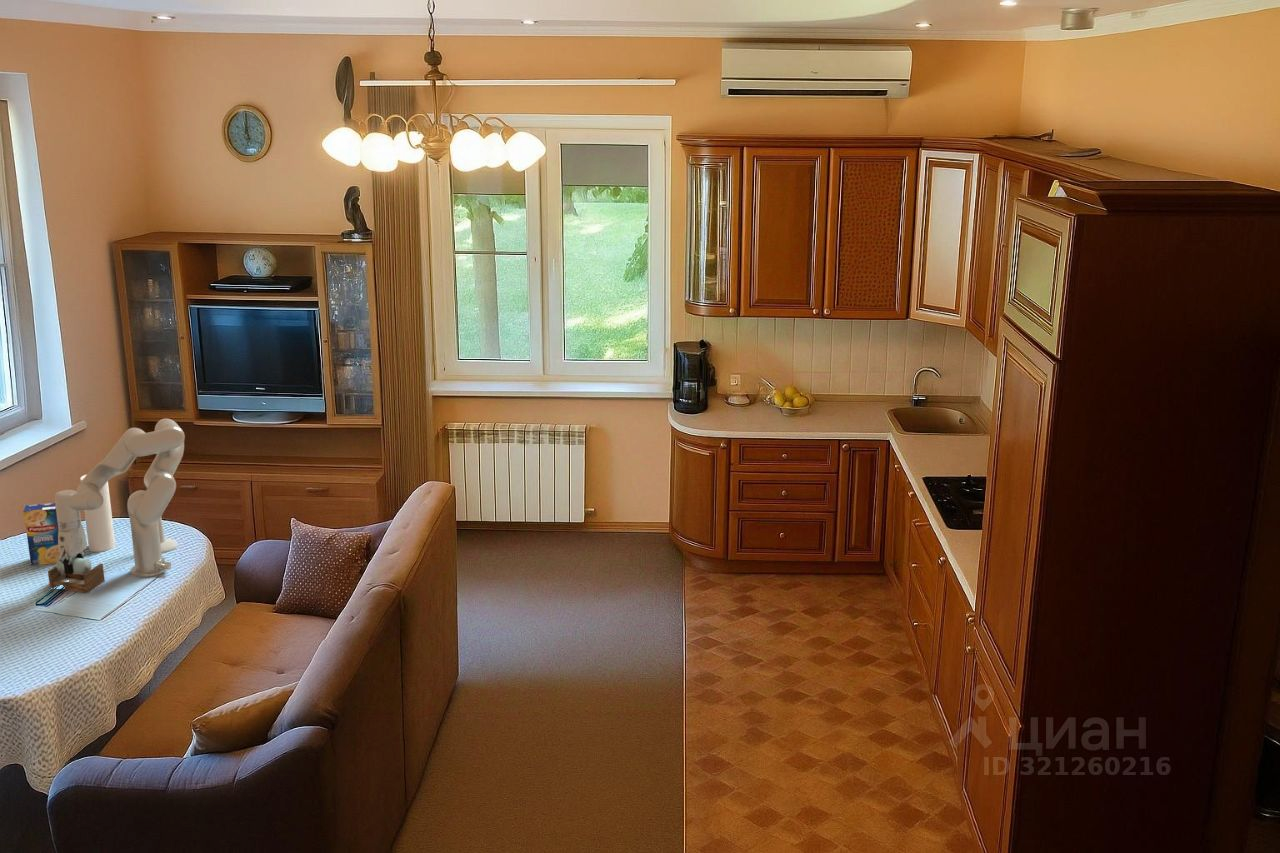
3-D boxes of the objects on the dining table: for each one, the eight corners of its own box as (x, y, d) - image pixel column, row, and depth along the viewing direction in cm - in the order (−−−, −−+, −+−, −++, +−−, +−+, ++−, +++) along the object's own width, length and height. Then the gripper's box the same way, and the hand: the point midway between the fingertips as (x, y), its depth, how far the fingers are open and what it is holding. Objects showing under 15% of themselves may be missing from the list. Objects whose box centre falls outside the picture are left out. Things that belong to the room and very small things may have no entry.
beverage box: (63, 562, 427) (55, 508, 421) (30, 565, 423) (23, 511, 417) (64, 555, 433) (58, 502, 427) (33, 558, 430) (25, 505, 423)
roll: (92, 570, 409) (90, 556, 408) (82, 577, 404) (81, 562, 402) (67, 567, 411) (65, 553, 409) (57, 574, 405) (55, 560, 404)
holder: (104, 581, 413) (102, 563, 411) (88, 592, 403) (85, 575, 401) (67, 577, 415) (65, 560, 413) (50, 588, 405) (47, 571, 403)
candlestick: (136, 550, 440) (128, 479, 431) (158, 538, 451) (151, 469, 442) (163, 555, 436) (155, 483, 427) (185, 543, 448) (178, 473, 439)
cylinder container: (119, 543, 446) (111, 472, 437) (106, 552, 437) (98, 480, 428) (97, 541, 447) (89, 470, 438) (84, 550, 438) (75, 478, 429)
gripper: (63, 533, 393) (69, 580, 398) (93, 516, 410) (98, 561, 415) (44, 531, 394) (49, 578, 399) (75, 514, 411) (80, 559, 416)
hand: (74, 569), depth 407 cm, fingers closed on roll, 5 cm apart
